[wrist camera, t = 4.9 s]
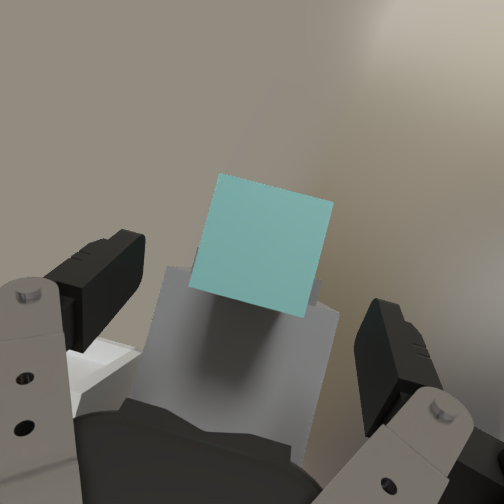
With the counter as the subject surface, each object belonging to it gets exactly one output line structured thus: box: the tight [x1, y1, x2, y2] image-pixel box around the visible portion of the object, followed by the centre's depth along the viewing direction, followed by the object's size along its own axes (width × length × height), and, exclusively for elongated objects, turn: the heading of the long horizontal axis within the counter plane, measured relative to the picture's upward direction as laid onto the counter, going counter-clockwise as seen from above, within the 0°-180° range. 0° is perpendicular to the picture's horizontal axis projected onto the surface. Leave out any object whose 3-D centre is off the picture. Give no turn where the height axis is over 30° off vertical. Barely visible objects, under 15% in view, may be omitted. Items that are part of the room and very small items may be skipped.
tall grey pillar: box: [130, 247, 340, 467], centre depth 26 cm, size 10×13×34 cm
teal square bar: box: [188, 173, 334, 318], centre depth 22 cm, size 4×20×4 cm, turn 179°
